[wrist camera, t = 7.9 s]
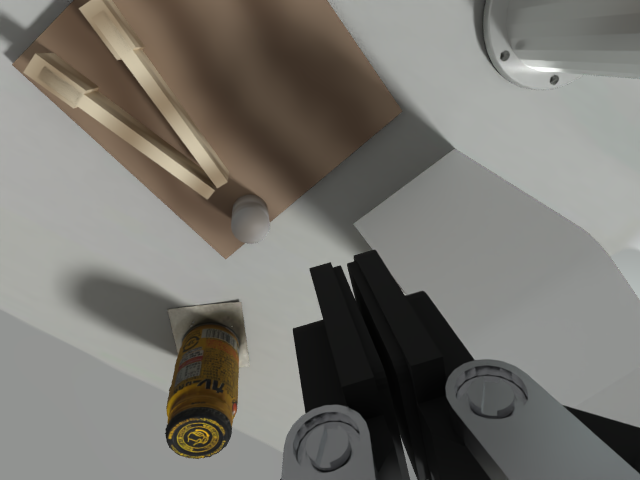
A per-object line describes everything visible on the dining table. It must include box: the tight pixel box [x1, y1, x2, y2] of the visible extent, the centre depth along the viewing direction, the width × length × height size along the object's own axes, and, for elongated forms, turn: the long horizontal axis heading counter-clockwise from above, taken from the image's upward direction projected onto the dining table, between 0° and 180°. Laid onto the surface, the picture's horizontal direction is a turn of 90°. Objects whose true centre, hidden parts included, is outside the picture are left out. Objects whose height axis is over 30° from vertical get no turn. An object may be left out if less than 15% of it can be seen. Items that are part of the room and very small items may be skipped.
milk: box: [354, 149, 640, 428], centre depth 32 cm, size 12×12×26 cm
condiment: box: [165, 302, 250, 459], centre depth 39 cm, size 7×8×12 cm
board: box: [12, 0, 402, 259], centre depth 34 cm, size 21×22×1 cm
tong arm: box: [79, 0, 229, 188], centre depth 32 cm, size 15×2×3 cm, turn 30°
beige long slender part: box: [23, 53, 270, 244], centre depth 34 cm, size 20×3×4 cm, turn 48°
